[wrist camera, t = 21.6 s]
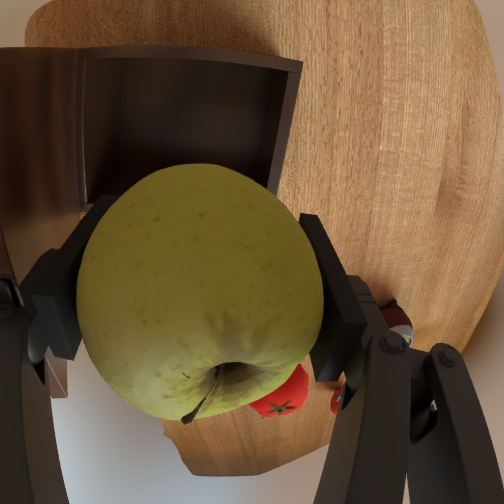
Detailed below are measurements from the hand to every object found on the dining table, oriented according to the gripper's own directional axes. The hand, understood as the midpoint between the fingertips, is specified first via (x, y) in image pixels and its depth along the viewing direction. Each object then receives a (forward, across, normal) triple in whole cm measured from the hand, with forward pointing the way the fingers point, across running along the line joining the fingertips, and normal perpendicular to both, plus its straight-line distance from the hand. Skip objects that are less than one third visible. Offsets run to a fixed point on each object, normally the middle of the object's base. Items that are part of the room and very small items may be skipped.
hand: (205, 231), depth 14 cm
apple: (+1, 0, 0) cm, 1 cm away
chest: (+24, -4, +1) cm, 25 cm away
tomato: (+25, +13, -40) cm, 49 cm away
